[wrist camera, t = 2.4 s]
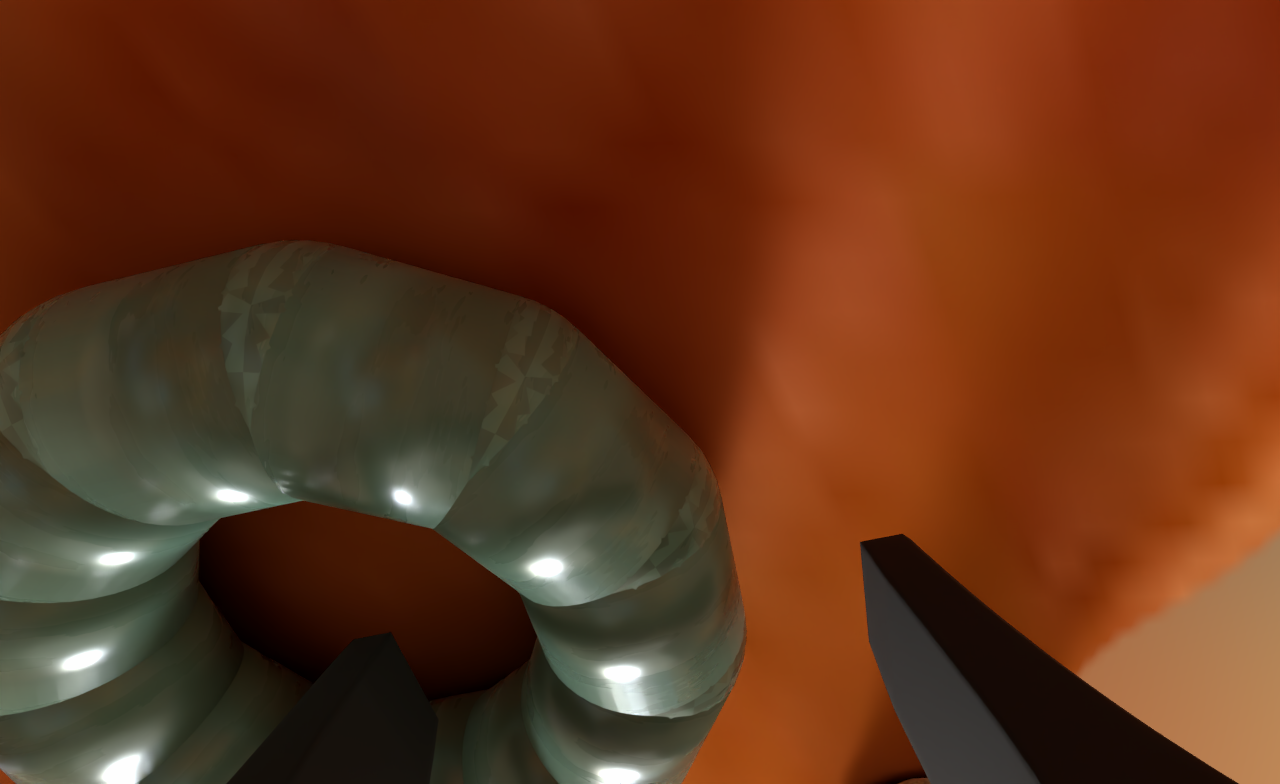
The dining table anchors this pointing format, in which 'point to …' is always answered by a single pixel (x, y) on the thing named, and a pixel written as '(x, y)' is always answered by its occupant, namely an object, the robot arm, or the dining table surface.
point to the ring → (352, 480)
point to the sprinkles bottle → (916, 781)
